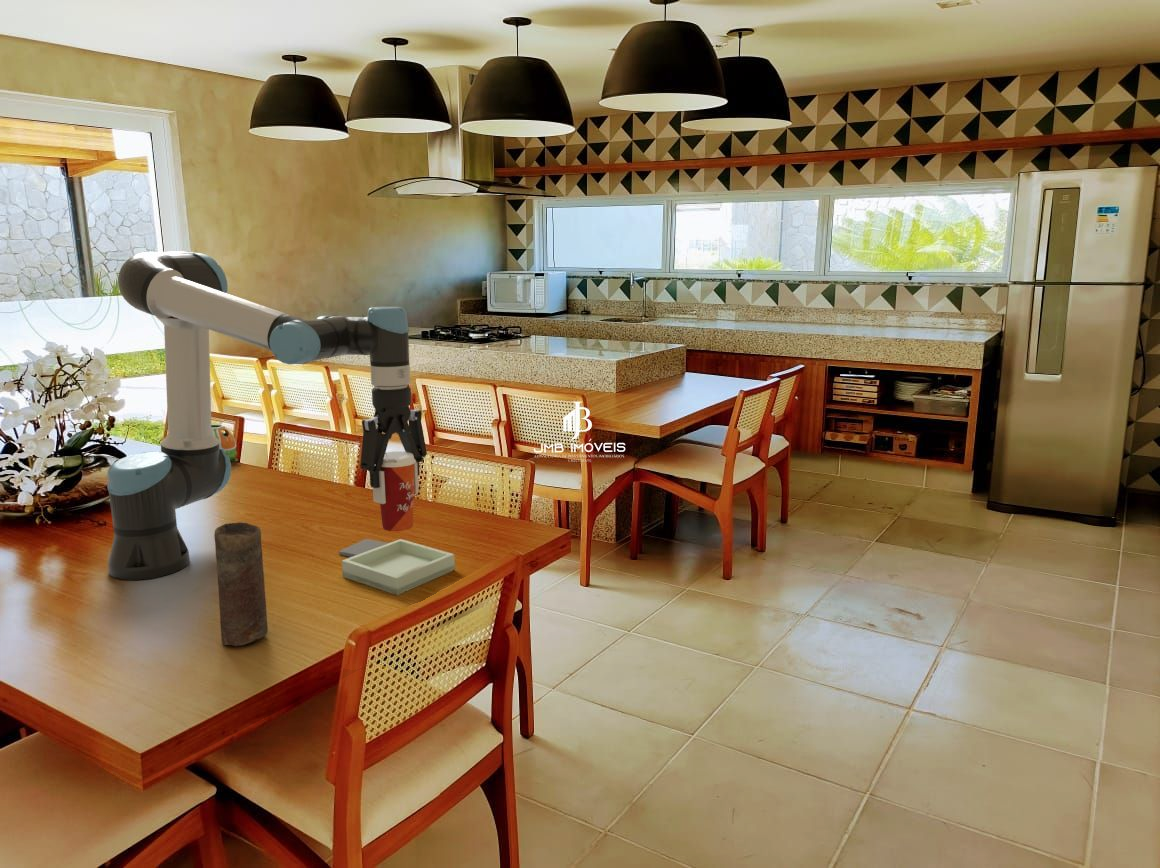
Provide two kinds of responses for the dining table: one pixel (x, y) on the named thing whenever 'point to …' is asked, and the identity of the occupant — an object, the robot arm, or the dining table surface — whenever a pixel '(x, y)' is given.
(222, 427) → the turtle holder
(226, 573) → the grey brown tall cylinder
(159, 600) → the dining table surface
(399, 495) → the coffee cup
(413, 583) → the bin
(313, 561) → the dining table surface
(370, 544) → the slate coaster
